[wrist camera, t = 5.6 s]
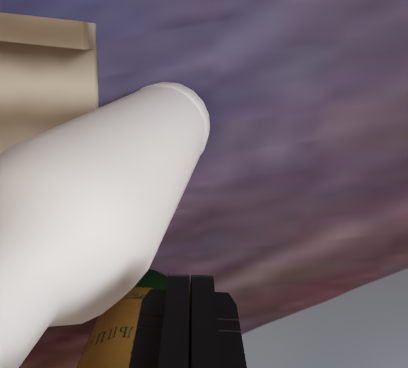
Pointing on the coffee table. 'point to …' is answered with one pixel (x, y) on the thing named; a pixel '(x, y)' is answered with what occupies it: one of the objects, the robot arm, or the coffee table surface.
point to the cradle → (44, 74)
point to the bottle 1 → (91, 209)
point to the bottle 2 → (119, 327)
